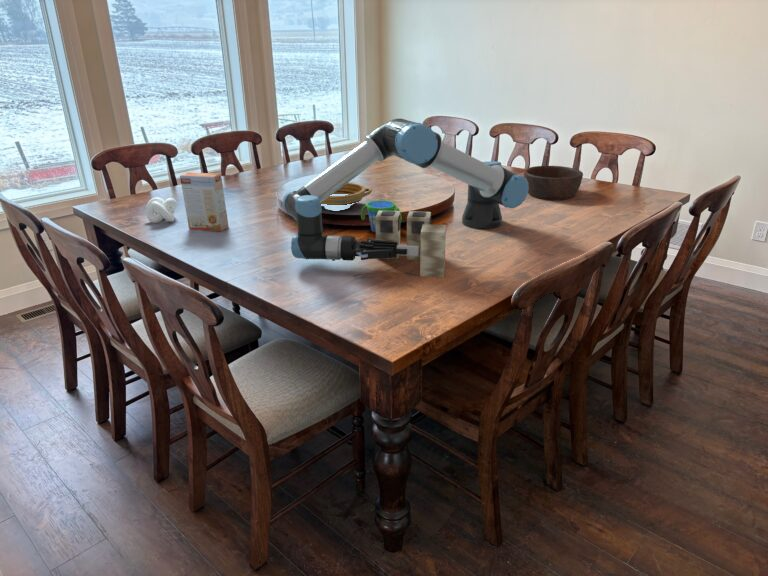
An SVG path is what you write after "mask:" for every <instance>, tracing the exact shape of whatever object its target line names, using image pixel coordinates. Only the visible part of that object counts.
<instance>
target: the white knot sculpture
mask: <svg viewBox="0 0 768 576" xmlns="http://www.w3.org/2000/svg"><path fill="white" fill-rule="evenodd" d="M177 204H178V203H177V201H176V199H174V198H172V197H168V198H166V199H165V200H164V199H163V198H161V197H152V198H151V199H149V200H148V202H147V203H146V207H145V215H146V218H147V219H148V221H149V222H150V223H153V224H157V223H160V222H162V221H163V220H165V221H167V222H169V223H173V222H174V220H175V219H176V217H175V215H174V213H175V212H176V210H177Z"/></svg>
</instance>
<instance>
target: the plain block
mask: <svg viewBox="0 0 768 576" xmlns="http://www.w3.org/2000/svg"><path fill="white" fill-rule="evenodd" d="M446 234H447V225H446V224H431V225H428V224H423V225H422V229H421V255H420V260H419V261H420V262H419V263H420V265H419V267H420V270H419V272H420V273H419V275H420V277H437V278H444V276H445V269H446V237H447V236H446Z"/></svg>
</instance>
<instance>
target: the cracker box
mask: <svg viewBox="0 0 768 576" xmlns="http://www.w3.org/2000/svg"><path fill="white" fill-rule="evenodd" d="M179 177H180V178H179V179H180V185H181V190H182V195H183V202H184V207H185V208H184V209H185V212H186V219H187V225H188V230H193V229H194V230H195V231H197V230H198V231H211V232H222V231H224V230H226V229H228V228H229V219H228V214H227V213H228V212H227V208H226V207H227V206H226V201H225V200H226V199H225V193H224V191H225V190H224V185H223V179H222V178H223V177H222V173H215V172H214V173H211V172H207V173H206V172H186V173H185V172H184V173H183V174H180V175H179Z"/></svg>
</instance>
